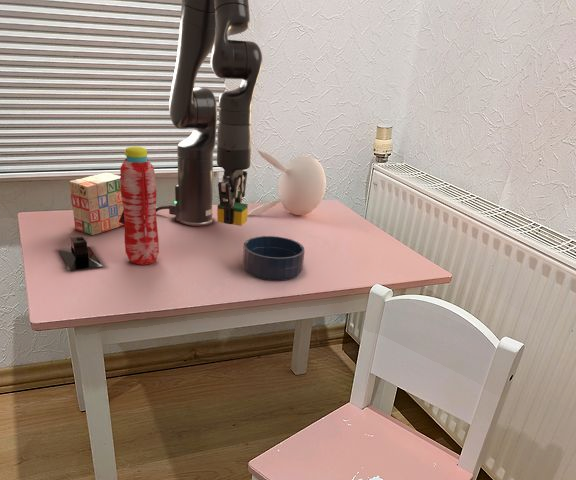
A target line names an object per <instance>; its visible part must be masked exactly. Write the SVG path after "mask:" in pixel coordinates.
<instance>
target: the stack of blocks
mask: <svg viewBox="0 0 576 480" xmlns="http://www.w3.org/2000/svg"><path fill="white" fill-rule="evenodd" d="M69 188H70V200H71V206H72V211H73V212H72V213H73V222H74V228H75V230H76V231H80V232H82V233H85V234H88V235H90V236H95V235H98V234H100V233H104V232H108V231H110V230H113V229H116V228H119V227H122V226H125V224H122V223H120V222H119V220H120V217H121V215H122V213H123V210H124V208H123V202H122V196H121V185H120V175H118V174H113V173H110V172H103V173H99V174H93V175H90V176H87V177H82V178H76V179H73V180H69Z"/></svg>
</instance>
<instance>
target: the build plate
mask: <svg viewBox="0 0 576 480" xmlns="http://www.w3.org/2000/svg"><path fill="white" fill-rule="evenodd" d="M69 244H70V248H62V249H58V252H59V254H60V255H61V257H62V259H63V261H64V262H65V264H66V266H67V267H66V268H67V270H68V271H70V272H77V271H83V270H84V271H85V270H93V269H101V268H103V267H104V265H103V264H102V263H101V261H100V259H99V258H98V256H97V255H96V254H95V252H94V251H93V249H92V248H91V246H88V242H87V240H86V239H85V237H84V236H75V237H69Z"/></svg>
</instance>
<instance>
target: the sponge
mask: <svg viewBox="0 0 576 480" xmlns="http://www.w3.org/2000/svg"><path fill="white" fill-rule="evenodd" d="M227 202H228V200H227ZM248 207H249V206H248V203H242V202H241V203H237V202H235V203H234V222H233V224H231V225H233V226H239V227H243V225H244V224H245V223H246V222H247V221H248V215H247V214H248ZM216 209H217V212H216V213H217V215H216V217H217V219H216V220H217V221H216V222H217V223H219V224H220V223H221V224H225V223H224V207H220V203H218V204H217V208H216Z"/></svg>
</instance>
